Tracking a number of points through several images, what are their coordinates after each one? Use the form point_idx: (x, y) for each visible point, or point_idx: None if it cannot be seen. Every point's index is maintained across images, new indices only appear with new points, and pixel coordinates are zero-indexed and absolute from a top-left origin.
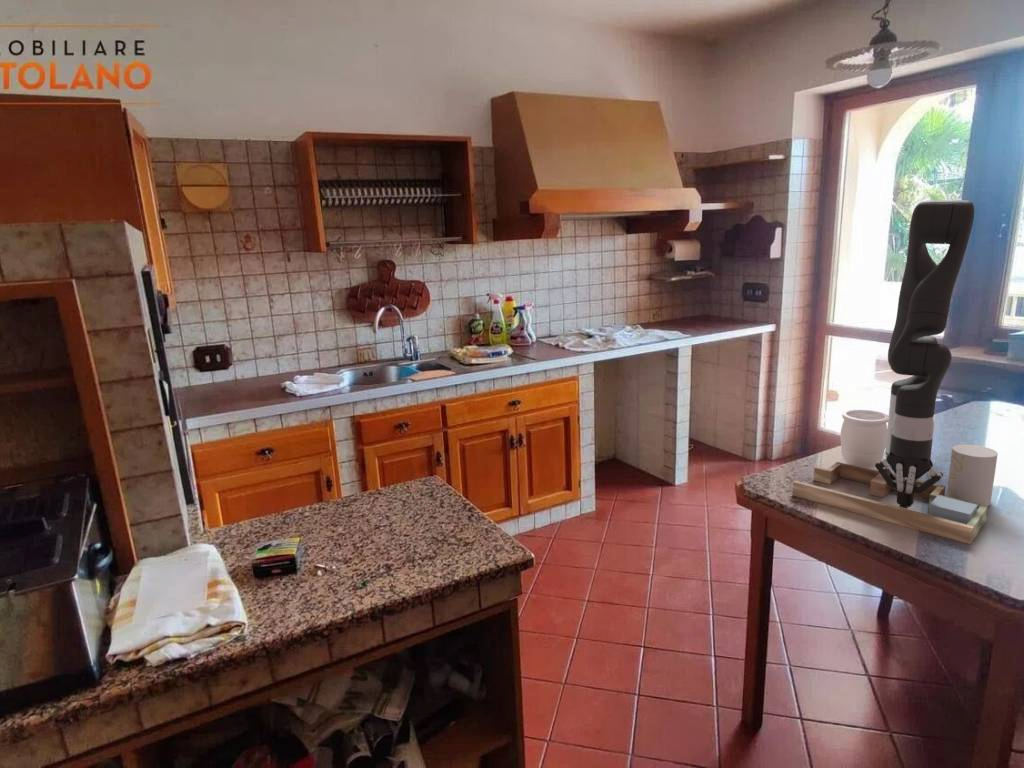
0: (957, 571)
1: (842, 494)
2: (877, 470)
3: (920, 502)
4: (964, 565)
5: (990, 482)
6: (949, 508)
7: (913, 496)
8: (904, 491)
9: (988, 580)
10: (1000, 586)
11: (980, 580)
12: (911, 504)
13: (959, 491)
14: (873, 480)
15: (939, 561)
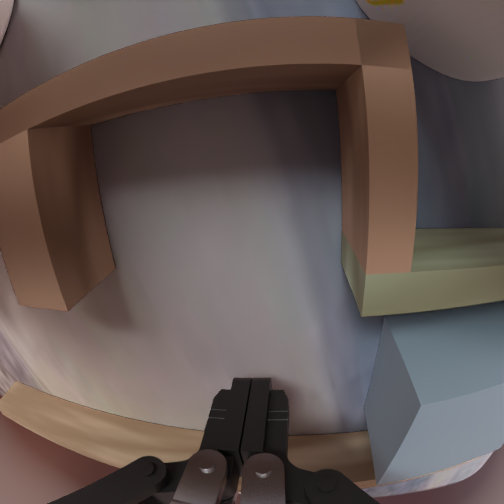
0: (417, 488)
1: (94, 458)
2: (3, 15)
3: (276, 191)
4: (432, 474)
5: None
6: (447, 464)
7: (287, 440)
8: (238, 469)
9: (455, 476)
10: (466, 474)
11: (444, 482)
12: (288, 419)
13: (482, 55)
14: (20, 292)
15: (392, 488)
